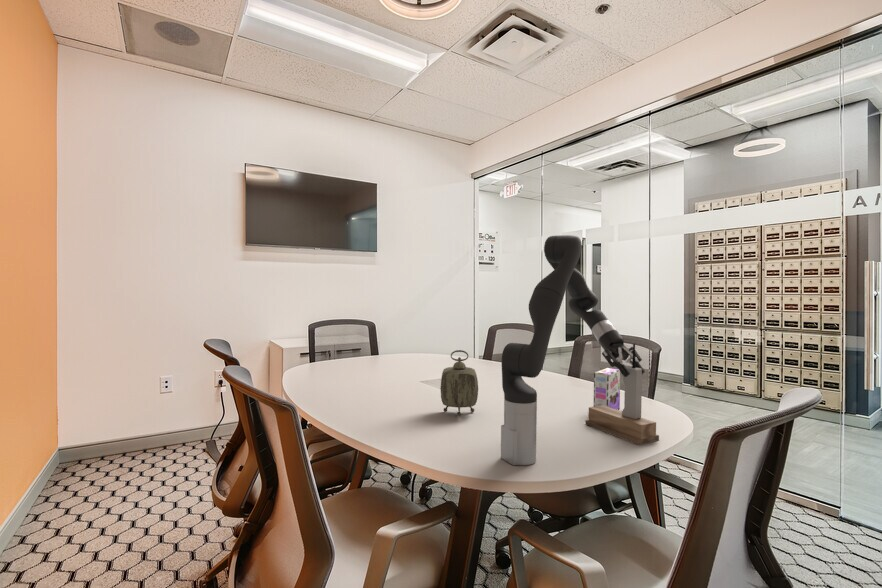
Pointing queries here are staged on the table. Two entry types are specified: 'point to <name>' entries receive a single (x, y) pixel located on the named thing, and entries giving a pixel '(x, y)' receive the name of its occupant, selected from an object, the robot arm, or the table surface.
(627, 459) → the table surface
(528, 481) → the table surface
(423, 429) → the table surface
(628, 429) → the walnut ridge
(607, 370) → the candy box
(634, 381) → the vintage mobile phone
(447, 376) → the tabletop clock
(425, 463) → the table surface
